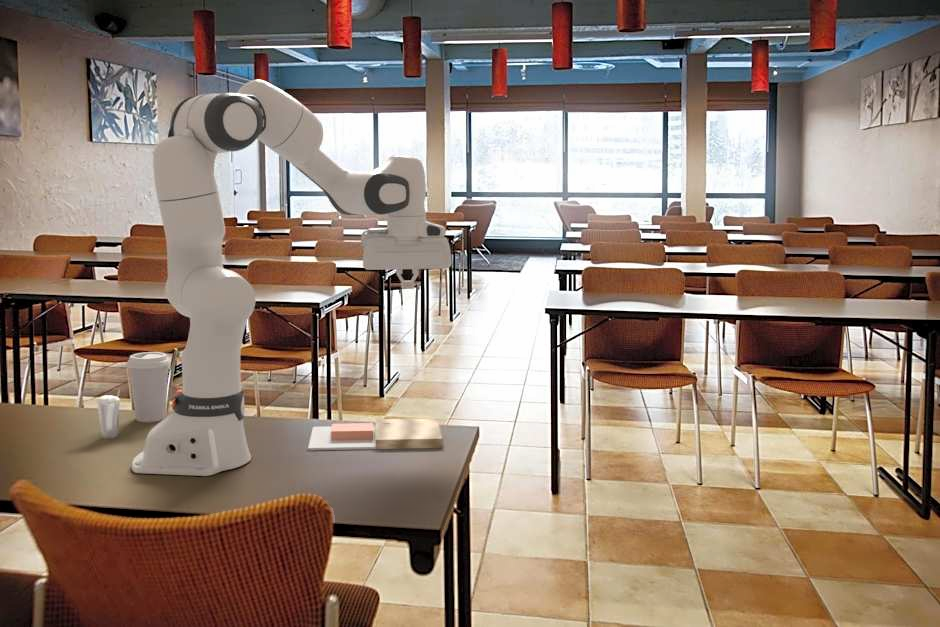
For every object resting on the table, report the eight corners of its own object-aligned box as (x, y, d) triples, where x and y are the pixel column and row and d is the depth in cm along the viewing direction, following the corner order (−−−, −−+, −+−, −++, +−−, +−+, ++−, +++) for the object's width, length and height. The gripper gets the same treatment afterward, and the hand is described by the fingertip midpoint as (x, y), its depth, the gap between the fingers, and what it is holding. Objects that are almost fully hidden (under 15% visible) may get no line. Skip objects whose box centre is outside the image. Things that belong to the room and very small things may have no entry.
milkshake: (128, 435, 198) (126, 390, 197) (107, 440, 194) (105, 395, 192) (115, 431, 201) (113, 387, 199) (94, 437, 196) (91, 392, 195)
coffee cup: (149, 411, 218) (146, 349, 215) (181, 415, 214) (178, 353, 212) (119, 421, 209) (116, 357, 207) (152, 426, 205) (150, 361, 203)
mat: (308, 450, 189) (308, 448, 189) (313, 428, 205) (313, 426, 205) (375, 449, 190) (375, 446, 190) (375, 427, 206) (375, 425, 206)
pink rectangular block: (330, 440, 194) (330, 431, 194) (332, 432, 200) (332, 423, 200) (373, 439, 195) (373, 430, 195) (373, 431, 201) (373, 423, 201)
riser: (375, 449, 190) (375, 439, 190) (375, 427, 206) (375, 419, 206) (442, 447, 192) (442, 438, 192) (437, 426, 208) (437, 418, 207)
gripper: (360, 229, 202) (361, 291, 204) (452, 228, 204) (452, 289, 206) (360, 227, 208) (362, 287, 211) (449, 226, 210) (450, 286, 213)
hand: (407, 288), depth 209 cm, fingers closed
